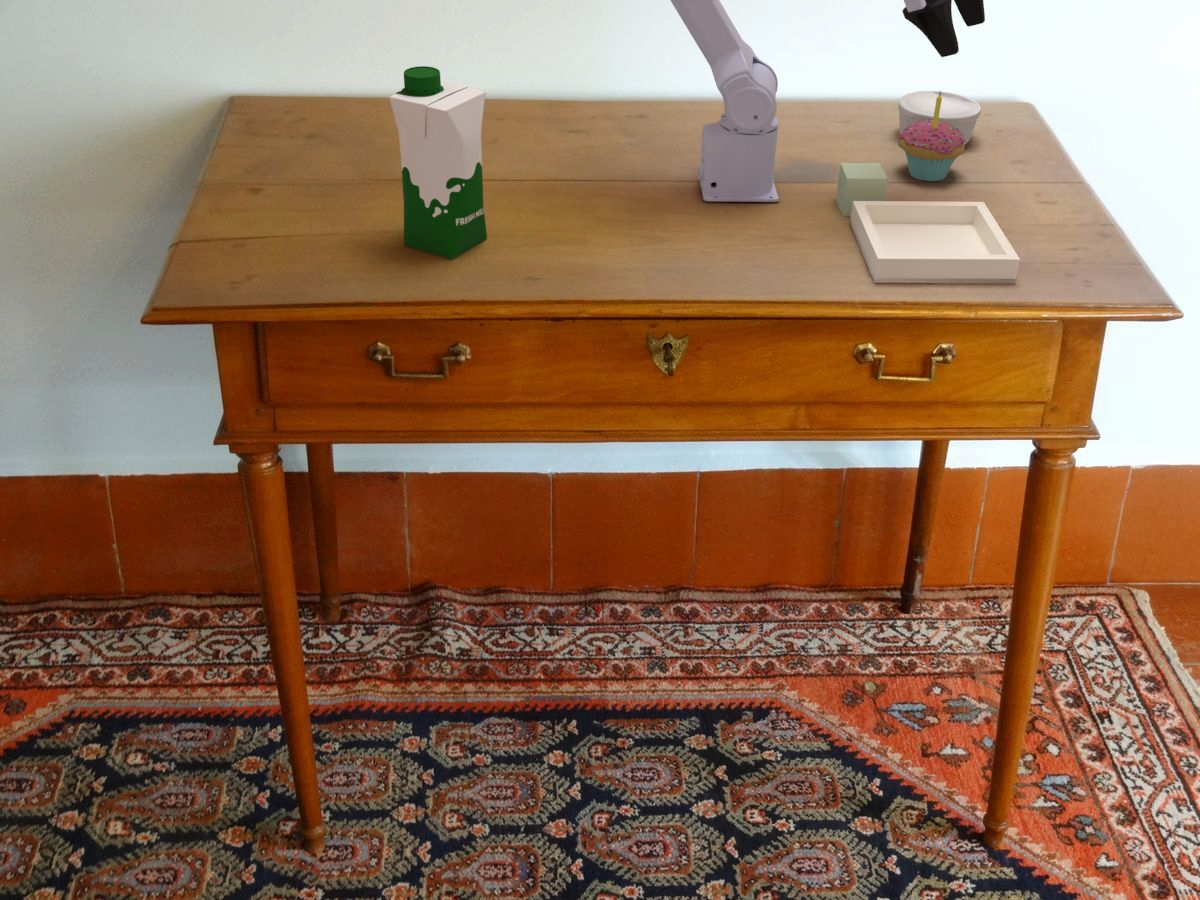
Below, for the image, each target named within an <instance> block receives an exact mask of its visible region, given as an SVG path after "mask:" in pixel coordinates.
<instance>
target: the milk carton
mask: <svg viewBox="0 0 1200 900" xmlns="http://www.w3.org/2000/svg"><path fill="white" fill-rule="evenodd" d="M403 82H404V83H403V84H404V87H403V88H402V89H401V90H400V91H396V93H394V94H392V95H390V96H389V102H390V104H391V105H390V106H391V108H392V112H393V116H394V120H395V124H396V127H397V131H398V132H397V133H398V141H399V151H400V153H399V154H400V165H401V166H400V167H401V182H402V196H403V245H404V246H406V247H408V248H412V249H416V250H419V251H423V252H426V253H430V254H433V255H436V256H440V257H442V258H446V259H449V260H453V259H455V258H457V257H458V256H460V255H461V254H463V253H465V252H466V251H469V250H470V249H472V248H473V247H475V246H477V245H478V244H480V243H481V242H483V241H485V240H486V239H488V235H487V234H488V233H487V224H486V217H485V208H484V207H485V206H484V205H485V204H484V184H483V183H484V182H483V181H484V180H483V155H482V151H483V150H482V148H483V147H482V129H483V128H482V125H483V119H484V118H483V116H484V110H485V102H486V101H485V100H486V91H484V90H481V89H475V88H471V87H469V86H468V85H465V84H458V83H454V82H449V81H445V80H441V71H440V70H439V68H436V67H433V66H421V65H420V66H413V67H412V66H411V67H409V68H407V69H405V70H404V72H403Z"/></svg>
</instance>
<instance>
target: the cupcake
mask: <svg viewBox="0 0 1200 900" xmlns="http://www.w3.org/2000/svg"><path fill="white" fill-rule="evenodd" d="M939 91H940V93H939V96H937V99H936V105H935V111H934V117H933V119H932V120H930V119H928V120H921V121H920V122H919V121H918V122H917V123H914V124H912V125H909V126H907V127H906V128H905V129H904V130H903V131H902V133H900V132H899V133H900V134H899V138H898V142H897V144H898V147H899V148H901V150H902V151H904V153H905V156H906V160H907V166H908V172H909V175H910V176H911V177H912V176H913V178H914V179H916V178H917V180H919V179H920V180H919V181H923V180H925V181H927V182H938V181H942V180H944V179H945V178H946V177H947V175H948V173H949V171H950V169H951V167H952V165H953V164H954V162H955V161H956V159H957V158H958V157H959V156H961V155H963V154H964V152H965V145H964V142H965V138H964V137H963V134H961V133H960V131H958V128H957V129H956V128H955V127H953V126H952V125H951V126H950V125H948V123H946V122H943V121H939V120H938V118H939V113H940V107H941V101H942V96H941V92H942V91H941V90H939ZM925 181H924V182H925Z"/></svg>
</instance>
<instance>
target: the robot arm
mask: <svg viewBox="0 0 1200 900" xmlns="http://www.w3.org/2000/svg"><path fill="white" fill-rule="evenodd" d="M953 1H954V4H955V5H956V7H957V10H958V12H959V14H960V17H961V18H962V20H963V22H964V23H965V25H966V26H967V28H968V27H973V26H977V25H982V24H984V22H985V21H986V19H985V18H986V17H985V15H986V14H985V4H984V3H985V2H984V0H903V2H904V4H905V7H904V8H903V9H902V11H901V12H902V14H903V17H904V19H905V20H907V21H909V22H910V23H911V24H912V25H914V26H915V27H916V28H917V29H919V31H921V32H922V33H923V35H924V36H925V37H926V38H927V39H928V41H929V42H930V44H931V45H932V47H934V49H935V51H937V53H938V55H939V56H940V57H941V58H945V57H948V56H949V57H950V56H953V55H956V54H958V52H959V51H960V49H959V41H958V38H957V34H956V31H955V27H954V23H953V14H952V2H953ZM670 2H671V4H672V5H673V7H674V9H675V10H676V12H677V13H678V16H679V17H680V19H681V20H682V22H683V23H684V25H685V27H686V28H687V30H688V32H689V33H690V36H691V37H692V39H693V40H694V42H695V43H696V45H697V47H698V48H699V49H700V51H701V53H702V55H703V57H704V59H705V60H706V62H707V63H708V65H709V66H710V69H711V72H712V76H713V79H714V82H715V85H716V88H717V90H718V92H719V93H720V95H721V98H722V100H723V105H724V106H723V107H724V109H723V110H724V113H722V114H721V116H720V120H718V121H714V122H706V123H703V126H702V132H701V133H702V135H701V149H700V166H699V167H698V180H699V184H700V189H701V195H702V199H703V201H704V202H726V203H727V202H731V203H733V202H734V203H735V202H737V203H738V202H741V203H742V202H743V203H744V202H746V203H752V202H753V203H776V202H778V201H779V199H780V198H779V195H778V192H777V189H776V186H775V185H776V184H775V182H774V175H775V173H774V172H775V163H776V161H775V160H776V153H777V150H776V149H777V140H778V131H779V119H778V118H777V117H776V114H777V107H778V106H777V95H776V94H777V92H778V83H779V82H778V76H777V74H776V72H775V71H774V69H773V68H772V67H771V66H770V65H769V64H768V63H766V62H764V61H763V60H762V59H760V58H759V57H758V56H757V55H756V53H755V51H754V50H753V48H752V47H751V46H750V45H749V44H748V43H747V42H746V41H745V40H744V39H743V38H742V37H741V35H740V33H739V32H738V30H737V28H736V27H735V25H734V23H733V21H732V19H731V18H730V17H729V14H728V13H727V10H725V9H726V8H724V6H723V4H722V3H721V1H720V0H670Z"/></svg>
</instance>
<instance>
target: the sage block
mask: <svg viewBox="0 0 1200 900" xmlns="http://www.w3.org/2000/svg"><path fill="white" fill-rule="evenodd" d="M837 178H838V180H837V187H836V195H835V196H836V197H835V201H836V203H837V206H838V208H839V211H840V214H841V215H842V217H843V216H844V217H845V216H848V217H851V212H852V204H853V201H886V194H887V193H886V192H887V187H888V180H889V178H888V175H887V174H886V172H885V170H884V168H883V166H882V165H881V162H880V163H879V162H875V163H874V162H873V163H872V162H840V163H839V171H838V177H837Z"/></svg>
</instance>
